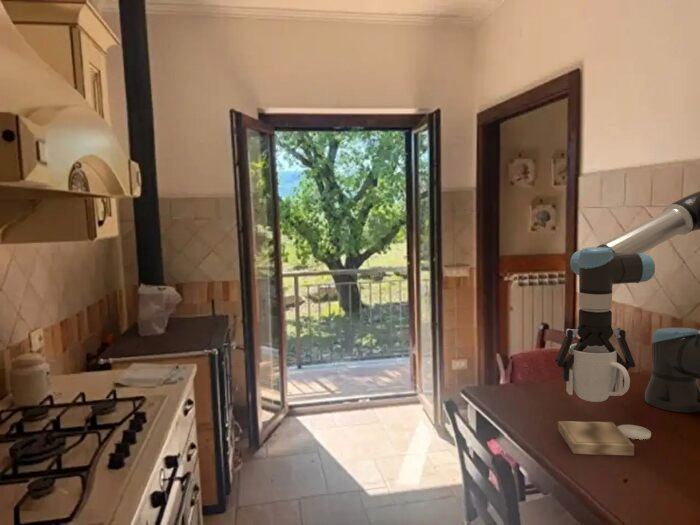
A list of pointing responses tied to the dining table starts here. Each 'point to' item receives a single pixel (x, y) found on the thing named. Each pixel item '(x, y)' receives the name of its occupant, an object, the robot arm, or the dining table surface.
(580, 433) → the base
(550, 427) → the dining table surface
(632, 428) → the white oval dome
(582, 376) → the mug
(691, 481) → the dining table surface
